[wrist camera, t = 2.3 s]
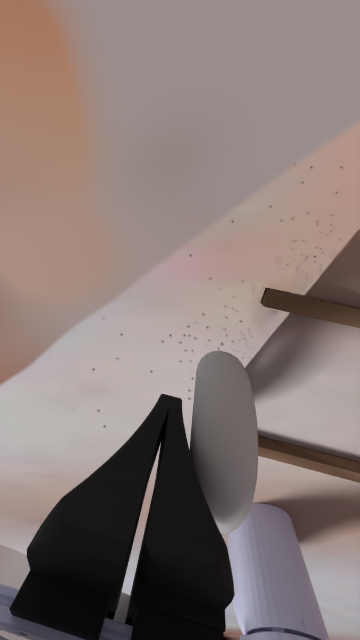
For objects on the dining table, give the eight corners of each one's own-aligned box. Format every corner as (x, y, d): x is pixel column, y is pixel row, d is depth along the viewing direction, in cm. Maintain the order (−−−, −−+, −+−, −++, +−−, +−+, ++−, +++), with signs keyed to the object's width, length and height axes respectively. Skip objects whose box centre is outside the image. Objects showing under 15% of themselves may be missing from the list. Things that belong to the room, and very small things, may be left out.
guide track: (384, 478, 19) (409, 509, 16) (211, 432, 20) (212, 456, 17) (520, 342, 13) (590, 362, 11) (265, 287, 14) (277, 294, 12)
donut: (198, 327, 16) (191, 436, 6) (239, 330, 15) (295, 450, 6) (191, 415, 19) (180, 568, 10) (225, 419, 19) (246, 582, 10)
